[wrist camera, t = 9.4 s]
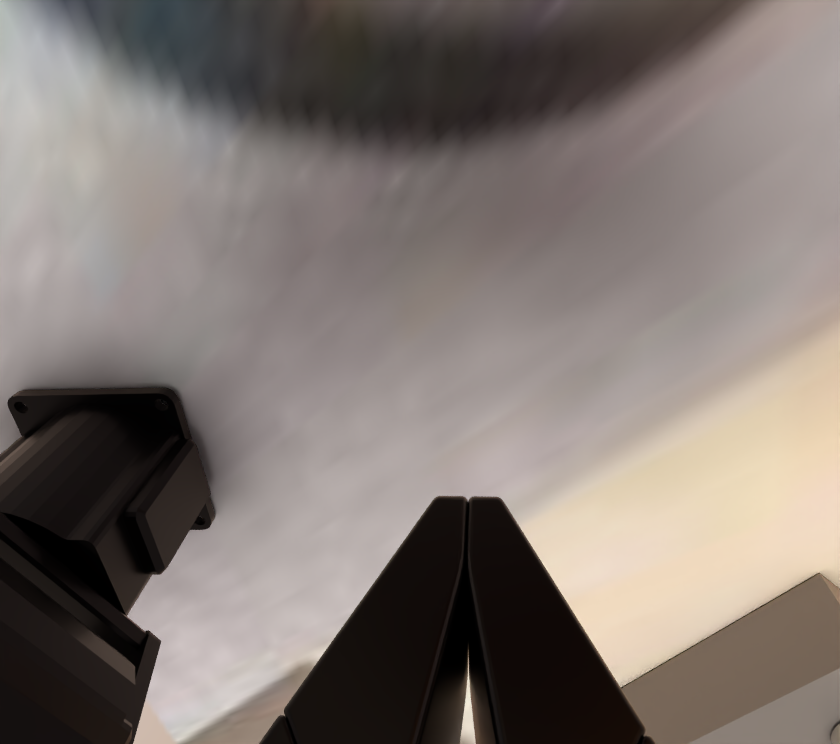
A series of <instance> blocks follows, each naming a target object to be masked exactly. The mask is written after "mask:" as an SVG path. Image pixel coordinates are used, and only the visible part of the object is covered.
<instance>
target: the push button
mask: <svg viewBox="0 0 840 744" xmlns="http://www.w3.org/2000/svg"><path fill="white" fill-rule="evenodd" d="M831 741H832V744H840V724H838V725H837V726H836V727H835V729H834V730H833V732H832V734H831Z"/></svg>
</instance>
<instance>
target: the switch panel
mask: <svg viewBox="0 0 840 744" xmlns="http://www.w3.org/2000/svg"><path fill="white" fill-rule="evenodd" d="M621 689H622V691H623V692H624V694H625V696H626V697H627V699H628V700H629V702H630V704H631V705H632V707H633V708H634V710H635V712H636V713H637V715H638V716H639V718H640V720H641V721H642V723H643V724H644V726H645V728H646V735H645V736H647V735H649V736H651V737H652V738H653V740H654V741H655V743H656V744H832V741H831V734H832V732H833V730H834V729H835V727H836V726H837V725H838V724H840V589H839V588H838V587H836V586H835V585H834V584H833V583H831V582H830V581H829V580H827V579H826V578H825V577H824V576H822V575H821V574H820V573H819V574H817V575H816V576H814V577H812V578H811V579H809V580H807V581H805V582H804V583H802V584H800V585H798V586H797V587H795V588H793V589H792V590H790V591H788V592H786V593H785V594H783V595H781V596H779V597H778V598H776V599H774V600H773V601H771V602H769V603H767V604H766V605H764V606H762V607H761V608H759V609H757V610H755V611H754V612H752V613H750V614H748V615H747V616H745V617H743V618H742V619H740V620H738V621H736V622H735V623H733V624H731V625H730V626H728V627H726V628H724V629H723V630H721V631H719V632H717V633H716V634H714V635H712V636H711V637H709V638H707V639H705V640H704V641H702V642H700V643H699V644H697V645H695V646H693V647H692V648H690V649H688V650H686V651H685V652H683V653H681V654H680V655H678V656H676V657H674V658H673V659H671V660H669V661H668V662H666V663H664V664H662V665H661V666H659V667H657V668H655V669H654V670H652V671H650V672H649V673H647V674H645V675H643V676H642V677H640V678H638V679H636V680H635V681H633V682H631V683H630V684H628V685H626V686H624V687H623V688H621Z"/></svg>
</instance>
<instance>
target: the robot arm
mask: <svg viewBox="0 0 840 744" xmlns="http://www.w3.org/2000/svg"><path fill="white" fill-rule="evenodd" d="M160 399H162V400H164V401H166V402H167V404H168V405H165V404H163V403H162V402H161V401H160ZM23 403H24V404H25V405H26V406H25V405H24V404H23ZM8 407H9V409H10V412H11V414H12V416H13V418H14V420H15V422H16V424H17V426H18V428H19V431H20V433H21V435H22V437H20V438H19V439H18V440H17V441H16V442H15V443H13V444H12V445H11V446H10V447H9V448H8V449H6V450H5V451H4V452H3V453H2V454H0V744H133V742H134V738H135V735H136V731H137V727H138V724H139V720H140V717H141V713H142V709H143V706H144V702H145V698H146V695H147V691H148V687H149V684H150V680H151V676H152V673H153V669H154V666H155V662H156V658H157V655H158V651H159V647H160V644H161V640H159V639H158V638H157V637H156V636H155V635H153V634H152V633H151V632H150V631H144V630H143V629H141V628H140V627H139V626H138V625H137V624H135V623H134V622H133V621H132V620H131V619H129V618H128V617H127V615H128V613H129V611H130V610H131V608H132V606H133V605H134V603H135V602H136V600H137V598H138V597H139V595H140V593H141V592H142V590H143V589H144V587H145V585H146V584H147V582H148V580H149V579H150V577H151V576H152V574H162V572H163V571H164V570H165V569H166V568H167V567H168V565H169V564H170V562H171V560H172V559H173V557H174V555H175V554H176V552H177V550H178V549H179V547H180V545H181V543H182V542H183V540H184V538H185V537H186V535H187V533H188V532H189V530H203V529H207V528H209V527H210V525H211V524H212V522H213V520H214V518H215V513H214V510H213V506H212V503H211V500H210V497H209V496H210V494H211V493H210V489H209V486H208V482H207V479H206V476H205V473H204V469H203V466H202V463H201V460H200V456H199V453H198V450H197V447H196V444H195V443H194V442H193V441H192V438H191V435H190V432H189V429H188V425H187V422H186V419H185V416H184V412H183V409H182V406H181V403H180V399H179V397H178V396H177V394H176V393H175V392H174V391H172V390H170V389H168V388H119V389H70V390H23V391H19V392H17V393H16V394H15V395H13V396H12V397H11V398H10V399H9V400H8ZM199 516H201V517H203V518H201V517H199ZM468 650H469V680H470V692H471V702H472V712H473V721H474V730H475V739H476V744H656V743H655V741H654V740H653V738H652V737H651V736H649V735H647V736H645V735H646V728H645V726H644V724H643V723H642V721H641V720H640V718H639V716H638V715H637V713H636V712H635V710H634V708H633V707H632V705H631V704H630V702H629V700H628V699H627V697H626V696H625V694H624V692H623V691H622V689H621V688H620V686H619V685H618V683H617V681H616V680H615V678H614V677H613V675H612V673H611V672H610V670H609V669H608V667H607V665H606V664H605V662H604V661H603V659H602V657H601V656H600V654H599V653H598V651H597V649H596V648H595V646H594V645H593V643H592V642H591V640H590V638H589V637H588V635H587V634H586V632H585V630H584V629H583V627H582V626H581V624H580V622H579V621H578V619H577V618H576V616H575V614H574V613H573V611H572V610H571V608H570V606H569V605H568V603H567V602H566V600H565V599H564V597H563V595H562V594H561V592H560V591H559V589H558V587H557V586H556V584H555V583H554V581H553V579H552V578H551V576H550V575H549V573H548V571H547V570H546V568H545V567H544V565H543V564H542V562H541V560H540V559H539V557H538V556H537V554H536V552H535V551H534V549H533V548H532V546H531V544H530V543H529V541H528V540H527V538H526V536H525V535H524V533H523V532H522V530H521V528H520V527H519V525H518V524H517V522H516V521H515V519H514V517H513V516H512V514H511V513H510V511H509V509H508V508H507V506H506V505H505V503H504V502H503V500H502V499H501V498H499V497H477V496H474V497H471V498H470V499H469V501H468V500H467V499H466V498H465V497H463V496H438V497H436V498H434V500H433V501H432V502H431V504H430V505H429V506H428V508H427V509H426V511H425V512H424V513H423V515H422V516H421V518H420V519H419V520H418V522H417V523H416V525H415V526H414V527H413V529H412V530H411V532H410V533H409V534H408V536H407V537H406V539H405V540H404V541H403V543H402V544H401V546H400V547H399V548H398V550H397V551H396V553H395V554H394V555H393V557H392V558H391V560H390V561H389V563H388V564H387V565H386V567H385V568H384V570H383V571H382V572H381V574H380V575H379V577H378V578H377V579H376V581H375V582H374V584H373V585H372V586H371V588H370V589H369V591H368V592H367V593H366V595H365V596H364V598H363V599H362V600H361V602H360V603H359V605H358V606H357V607H356V609H355V610H354V612H353V613H352V614H351V616H350V617H349V619H348V620H347V621H346V623H345V624H344V626H343V627H342V628H341V630H340V631H339V633H338V634H337V635H336V637H335V638H334V640H333V641H332V642H331V644H330V645H329V647H328V648H327V649H326V651H325V652H324V654H323V655H322V656H321V658H320V659H319V661H318V662H317V663H316V665H315V666H314V668H313V669H312V671H311V672H310V673H309V675H308V676H307V678H306V679H305V680H304V682H303V683H302V685H301V686H300V687H299V689H298V690H297V692H296V693H295V694H294V696H293V697H292V699H291V700H290V701H289V703H288V704H287V706H286V707H285V709H284V714H285V716H283V715H280V716H279V717H278V718H277V719H276V720H275V722H274V723H273V725H272V726H271V727H270V729H269V730H268V732H267V733H266V735H265V736H264V737H263V739H262V740H261V742H260V743H259V744H460V736H461V729H462V721H463V713H464V705H465V697H466V687H467V677H468Z"/></svg>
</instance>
